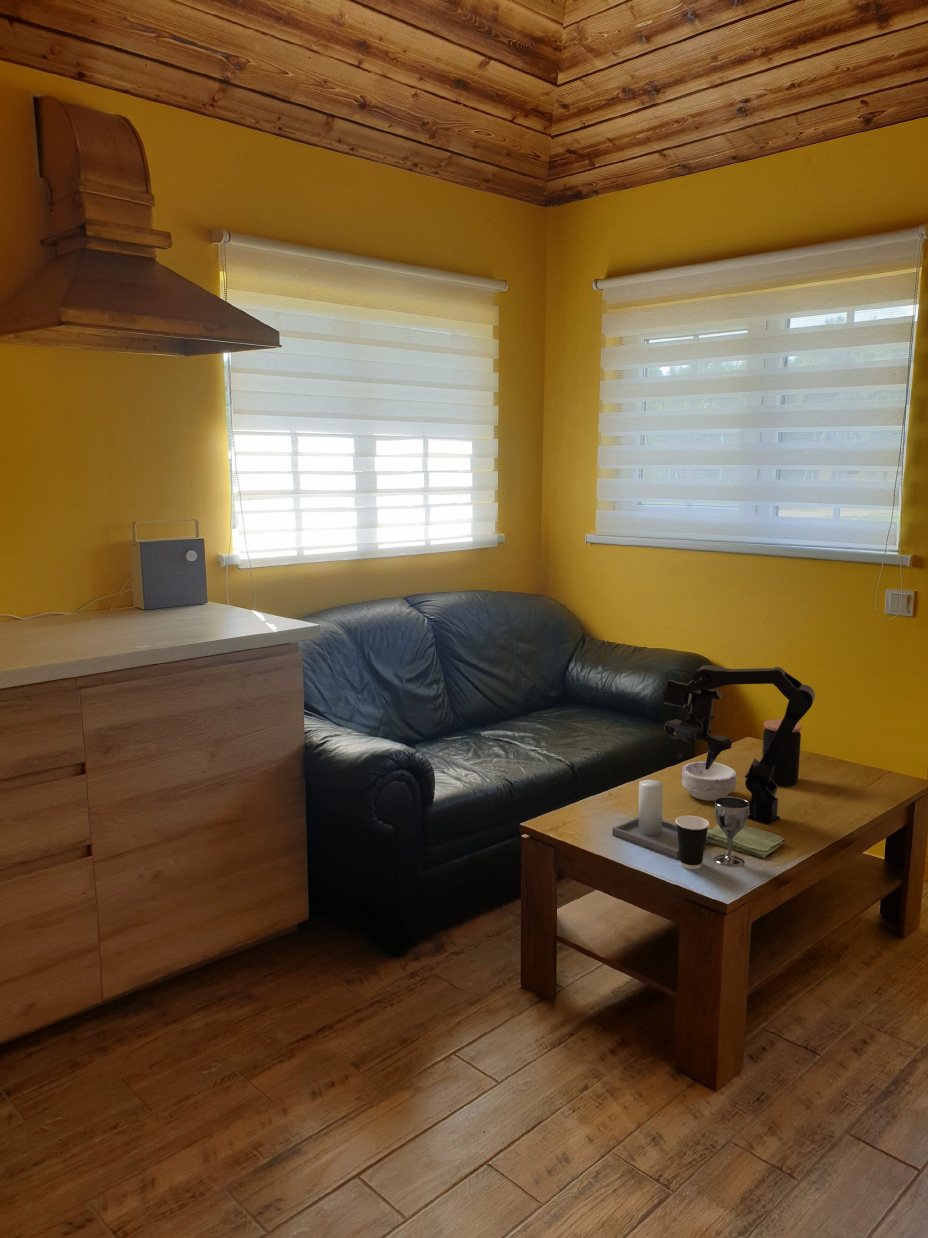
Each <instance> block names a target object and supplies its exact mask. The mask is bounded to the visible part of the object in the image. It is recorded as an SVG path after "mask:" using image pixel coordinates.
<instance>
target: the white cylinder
mask: <svg viewBox="0 0 928 1238" xmlns="http://www.w3.org/2000/svg"><path fill="white" fill-rule="evenodd" d="M663 790H664V789H663V782H661V781H659V780H654V779H644V780H640V781H639V783H638V816H637V817H638V831H639V833H641V834H644V835H649V836H654V835H659V834H661V832H662V820H663Z"/></svg>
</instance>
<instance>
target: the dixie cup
mask: <svg viewBox="0 0 928 1238" xmlns="http://www.w3.org/2000/svg"><path fill="white" fill-rule="evenodd" d="M675 824H676V825H677V834H678V848H679V858H678V860H679V862H680V866H681V867H683V868H685V869H689V870H696V869H699V868H701V865H702V863H703V860H704V853H705V848H706V845H705V842H706V836H707V831H708V830H709V827H710V822H709V820H707V819H705V818H703V817H701V816H697V815H681V816H680V817H677V818H675Z"/></svg>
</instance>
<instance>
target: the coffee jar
mask: <svg viewBox="0 0 928 1238" xmlns="http://www.w3.org/2000/svg"><path fill="white" fill-rule="evenodd" d="M782 720H783V719H770V720H765V721H764V723H763V726H764V730H763V732H762V733H763V734H762V735H763V737H762V753H761V755H762V756H761V758H762V757H763V756H764V754H765V752H766V750H767V748H768V746H769V744H770V743H771V741H772V739H773V737H774V735H775V733H776V731H777V729H778V727H779V726H780V724H781V722H782ZM801 730H802V724H800V723H799V722H798V723H797V724H796V726H795V728H794V730H793V731H792V733H791V735H790V737H789V739H788V741H787V743H786V744H785V746H784V748H783V750H782V752H781V754H780V756H779V757H778V759H777V761H776V763H775V766H774V770H773V773H772V776H771V779H772V780H773V782H774V783H775V784H776V785H777V786H778V788H779V787H781V788H785V787H786V788H790V787H793V786H796V783H798V780H799V773H800V772H799V771H800V769H799V767H800V755H801V740H802V739H801V738H802V737H801V736H802V735H801V732H800V731H801Z"/></svg>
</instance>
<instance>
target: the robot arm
mask: <svg viewBox="0 0 928 1238" xmlns="http://www.w3.org/2000/svg"><path fill="white" fill-rule="evenodd" d="M766 684H767V685H773V686H775V688H776V689H777V690H779V692H780V693H781V694H782V695H783V696H784V697H785V698H786V699H787V700H788V702H787V705H786V710H785V713H784V717H783V718H782V719H781V720H782V722H781V724H780V726H779V727H778V729H777V731H776V733H775V735H774V737H773V739H772V741H771V743H770V744H769V746H768V748H767V750H766V752H765V754H764V756H763V757H762V756H761V758H760V759H759V760H758V759H757V758H753V760H752V763H751V764H750V766H749V768H748V769H747V771H746V773H745V775H744V778H745V782H744V784H745V787H746V789H747V791H748V792H750V794H751V798H750V799H749V814H748V819H749V820H752V821H755V822H758V823H759V822H760V823H761V824H765V825H770V824H772V823H774V822H777V821H778V820H781V819H780V818H781V817H780V816H778V809H779V808H778V806H779V798H778V797H776V794H777V792H778V790H779V787H778V786H777V785H776V784H775V783H774V782H773V780H772V779H771V776H772V773H773V770H774V766H775V763H776V761H777V759H778V757H779V756H780V754H781V752H782V750H783V748H784V746H785V744H786V743H787V741H788V739H789V737H790V735H791V733H792V731H793V730H794V728H795V726H796V724H797V723H798V724H799V722H800V720H801V719H802V718H804V716H806V715H805V714H807V712H808V711H809V710H810V709H811V708H812V706H813V703H814V702H815V700H816V693H815V690H814V689H813V688H812V687H811V686H809V685H807V684H803V683H802V682H801V681H800V680H799V679H797V678H795V677H794V676H792V675H791V674H790V673H788V672H787V671H786V670H784V669H783V668H782V667H779V666H775V667H766V668H765V667H763V668H762V667H760V668H726V667H723V666H719V665H711V664H705V665H702V666H701V667H700V668H699V669H698V670H697V671H696V672H695V673H694V675H693V679H691V680H690V681H689V682H688V683H687V682H681V681H676V680H674V679H669V680H668V681H667V684H666V687H665V691H664V693H663V699H662V700H663V704H667V705H671V706H675V707H680V708H685V707H686V706H687V705H690V703H691V705H690V712H688V713H687V714H686V715H685V719H684V720H681V719H677V718H676V719H672V720H668V721H666V722H665V724H664V728H663V731H664V732H666V733H667V736H670V737H671V739H673V742H674V743H673V744H674V745H675V750H676V756H677V759H679V760H680V759H682V757H683V755H684V750H685V746H686V743H691V742H692V741H693V740H696V741H697V740H700V741H704V742H707V746H708V747H706V748H705V749H706V752H707V756H706V761H705V762H706V770H708V769H709V768H710V767H711V765H712V764H713V763H715V761H716V759H717V758H718V756H719V755H720V754H721V753H722V752H724V751H726V750H730V749H732V745H733V742H732V739H731V738H730V737H728V736H725V735H722V734H718V735H714V736H713V735H710V734H712V730H713V729H711V728H710V725H711V720H714V717H715V715H714V714H712V713H713V706H714V700H720V699H721V698H722V697H723V695H722V693H721V692H720V691H719V689H718V688H722V687H725V686H729V685H766ZM712 689H713V690H712Z"/></svg>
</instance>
